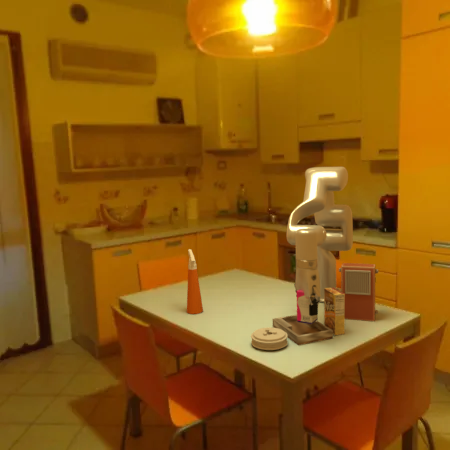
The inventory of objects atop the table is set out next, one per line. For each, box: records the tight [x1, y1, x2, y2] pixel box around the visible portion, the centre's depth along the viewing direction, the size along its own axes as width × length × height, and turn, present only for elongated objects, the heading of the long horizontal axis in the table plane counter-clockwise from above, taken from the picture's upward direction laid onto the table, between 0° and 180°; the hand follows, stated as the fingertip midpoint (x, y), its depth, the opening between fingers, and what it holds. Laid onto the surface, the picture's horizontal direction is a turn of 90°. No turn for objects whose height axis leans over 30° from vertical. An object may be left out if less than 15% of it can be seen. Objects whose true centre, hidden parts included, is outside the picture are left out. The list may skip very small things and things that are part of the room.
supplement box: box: [296, 290, 319, 324], centre depth 169 cm, size 6×6×12 cm
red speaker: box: [338, 262, 380, 322], centre depth 186 cm, size 21×7×15 cm
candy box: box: [323, 287, 346, 336], centre depth 174 cm, size 9×4×15 cm, turn 15°
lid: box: [250, 326, 289, 351], centre depth 165 cm, size 13×13×5 cm
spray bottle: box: [186, 248, 204, 315], centre depth 203 cm, size 7×11×26 cm, turn 14°
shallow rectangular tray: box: [272, 314, 334, 346], centre depth 175 cm, size 14×20×3 cm
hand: (307, 311), depth 170 cm, fingers closed on supplement box, 7 cm apart
